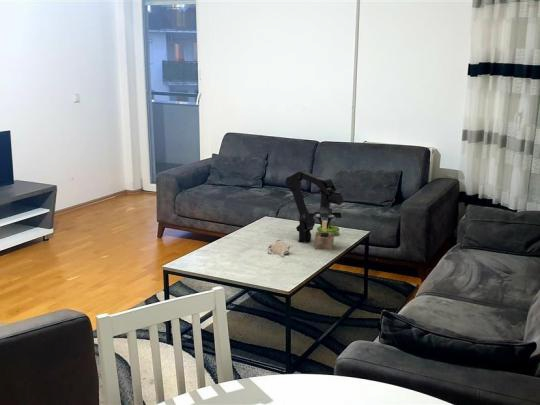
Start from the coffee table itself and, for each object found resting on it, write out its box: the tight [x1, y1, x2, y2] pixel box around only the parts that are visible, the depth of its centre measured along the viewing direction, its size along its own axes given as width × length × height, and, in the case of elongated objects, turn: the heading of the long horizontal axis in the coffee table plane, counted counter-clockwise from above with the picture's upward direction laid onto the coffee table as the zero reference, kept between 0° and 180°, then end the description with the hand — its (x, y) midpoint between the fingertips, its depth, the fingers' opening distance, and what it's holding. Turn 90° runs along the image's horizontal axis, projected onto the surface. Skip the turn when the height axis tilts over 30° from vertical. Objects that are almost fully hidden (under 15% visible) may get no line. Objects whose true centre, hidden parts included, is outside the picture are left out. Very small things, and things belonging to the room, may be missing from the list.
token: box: [322, 219, 328, 232], centre depth 342 cm, size 2×5×5 cm, turn 171°
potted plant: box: [316, 209, 340, 234], centre depth 367 cm, size 14×13×15 cm
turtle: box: [267, 238, 295, 258], centre depth 334 cm, size 16×10×10 cm, turn 71°
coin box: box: [314, 231, 335, 251], centre depth 344 cm, size 10×10×7 cm
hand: (324, 228), depth 342 cm, fingers closed on token, 2 cm apart
